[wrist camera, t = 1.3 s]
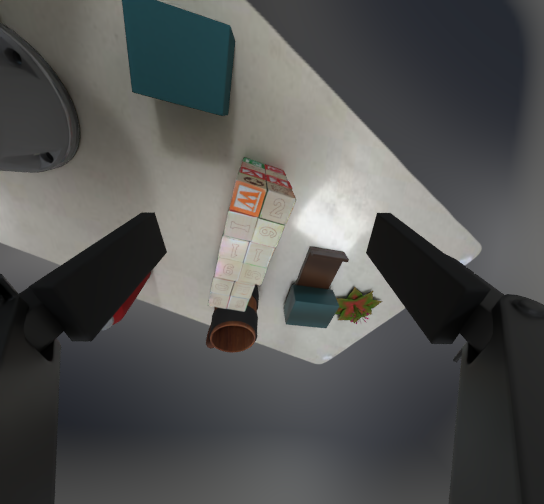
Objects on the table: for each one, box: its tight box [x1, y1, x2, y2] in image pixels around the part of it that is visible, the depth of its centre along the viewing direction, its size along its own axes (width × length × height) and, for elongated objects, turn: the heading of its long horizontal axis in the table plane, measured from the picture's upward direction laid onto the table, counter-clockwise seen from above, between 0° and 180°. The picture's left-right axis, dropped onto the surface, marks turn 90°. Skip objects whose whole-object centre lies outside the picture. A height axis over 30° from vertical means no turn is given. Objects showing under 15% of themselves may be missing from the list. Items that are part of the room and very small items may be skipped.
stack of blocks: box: [208, 157, 296, 312], centre depth 30 cm, size 21×6×12 cm, turn 161°
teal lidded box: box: [284, 246, 349, 328], centre depth 42 cm, size 17×9×6 cm, turn 167°
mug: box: [206, 285, 259, 352], centre depth 39 cm, size 9×12×12 cm
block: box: [122, 0, 235, 116], centre depth 22 cm, size 7×9×5 cm
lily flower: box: [335, 288, 383, 324], centre depth 47 cm, size 12×12×5 cm
